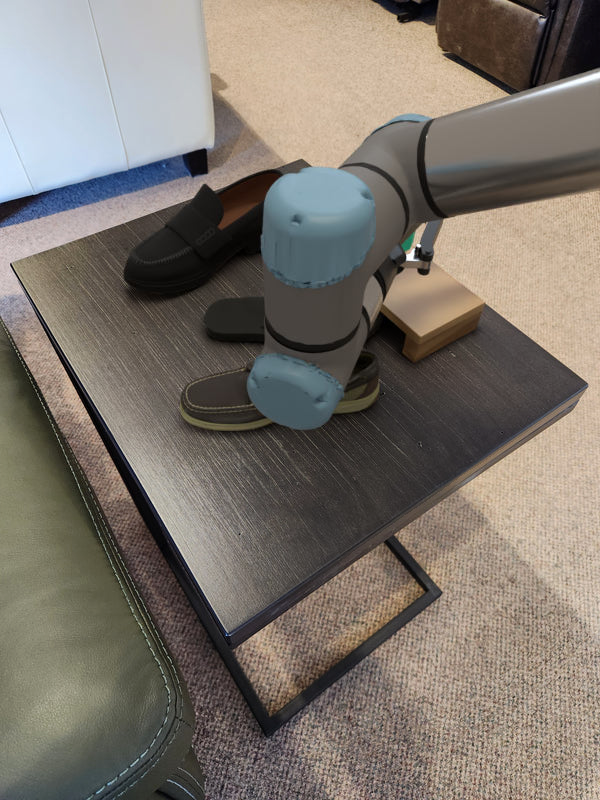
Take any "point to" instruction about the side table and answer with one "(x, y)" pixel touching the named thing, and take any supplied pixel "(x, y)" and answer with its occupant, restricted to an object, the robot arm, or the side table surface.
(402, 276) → the oak shelf
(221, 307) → the sandal
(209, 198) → the loafer
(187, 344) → the side table surface
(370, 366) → the boat shoe
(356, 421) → the side table surface
